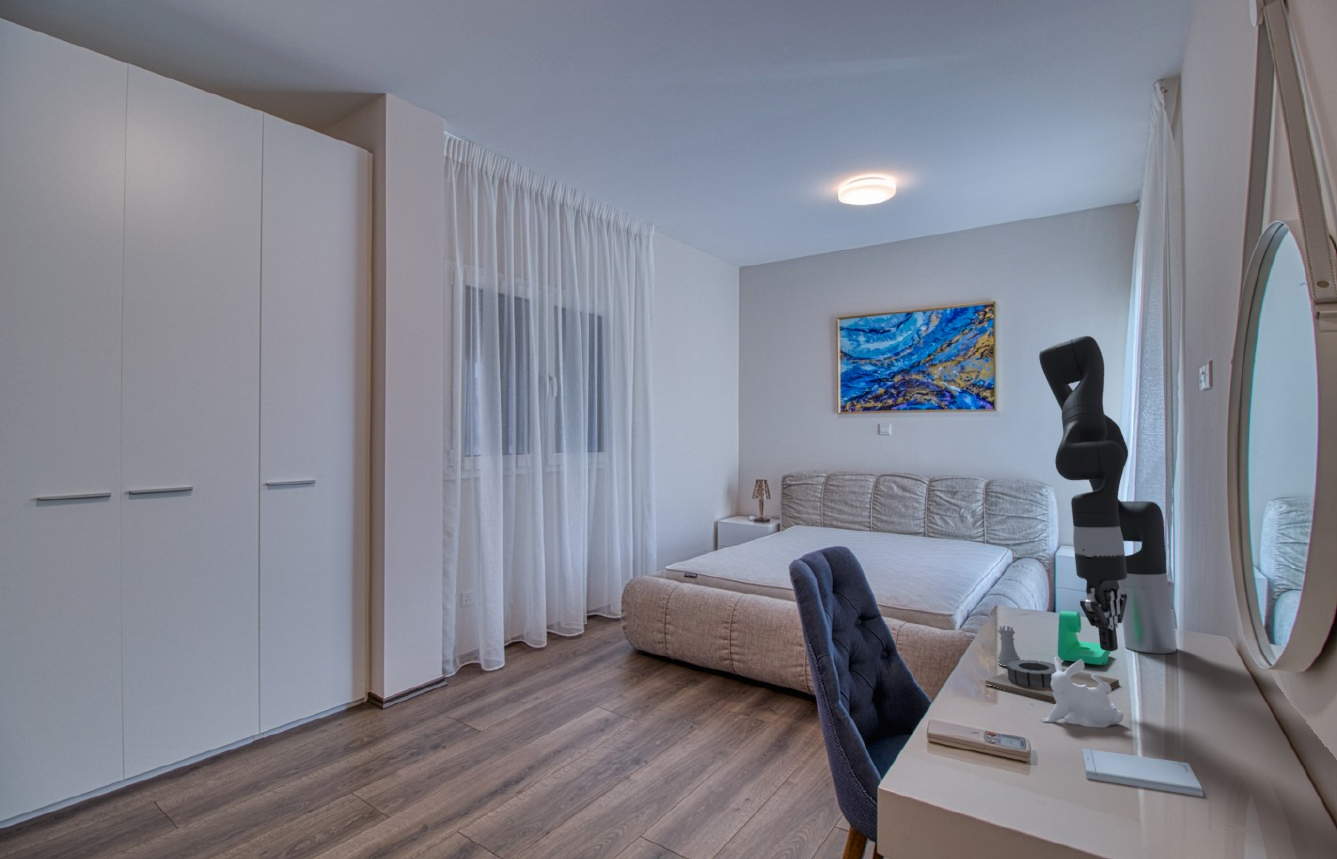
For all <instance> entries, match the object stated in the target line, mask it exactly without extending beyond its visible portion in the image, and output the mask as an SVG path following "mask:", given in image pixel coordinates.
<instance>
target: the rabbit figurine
mask: <svg viewBox="0 0 1337 859" xmlns="http://www.w3.org/2000/svg"><path fill="white" fill-rule="evenodd" d="M1061 662H1062V661H1061V660H1060V657H1059V656H1058V655H1057V656H1054V658H1053V664H1055V668H1056V672H1055V673H1053V674H1052V675H1051V678H1052V680H1051V687H1052V690H1053V691H1054V694H1053V695H1054V699H1055V701H1056V703H1054V704H1055V705H1054V707H1053V708H1052V709H1051V711H1050V713H1049V715H1048V716H1045V718H1039V720H1040V721H1041V722H1042V723H1043V722H1044V723H1055V722H1057V721H1060V720H1062V719H1065V720H1066V723H1068V724H1070V725H1081V726H1083V727H1085V728H1107V727H1109V726H1114V725H1117V724H1119V723H1121V722H1123V720H1124V712H1123V711H1121V710H1118V709H1117V707H1116V705H1115V703H1114V702H1111V701H1110V698H1109V696H1108V694H1110V693H1111V692H1112V689H1111V686H1110V685H1109V684H1108V683H1106V682H1103V681H1102V680H1101V679H1100V678H1099V677H1098V676H1099V675H1098V676H1097V674H1093V673H1091V674H1092V675H1091V677H1092V678H1093V679H1094V680H1096V681H1097V682H1098V683H1099V685H1098V686H1097V687H1091V688H1089V687H1087V686H1086V685H1077V684H1075V683H1072V682H1071V681H1070V676H1072V675H1074V674H1076V673H1078V672H1082V671H1083V670H1084V669H1085V667H1086V666H1085V663H1084V662H1083V660H1081V659H1080V660H1078V661H1077V662H1074V663H1072V664H1071V665H1070V666H1069V667H1068V668H1066V669H1067V670H1066V671H1064V672H1062V668H1063V665H1062V663H1061Z"/></svg>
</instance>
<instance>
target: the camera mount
mask: <svg viewBox="0 0 1337 859" xmlns="http://www.w3.org/2000/svg"><path fill="white" fill-rule="evenodd" d="M1081 631H1082V618H1081V614H1080V612H1079V611H1069V610H1068V611H1067V610H1059V615H1058V635H1057V656H1059V657H1060V660H1062V661H1069V662H1074V663H1076V662H1077V661H1078V660H1080V659H1081V660H1083V662H1084V664H1091V665H1099V666H1100V665H1101V666H1106V664H1107V663H1108V661H1109V655H1110V654H1111V651H1106V650H1102V649H1101V647H1100V642H1099V643H1098V642H1091V641H1082V640H1079V639H1078V635H1077V633H1079V634H1080V633H1081Z"/></svg>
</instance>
